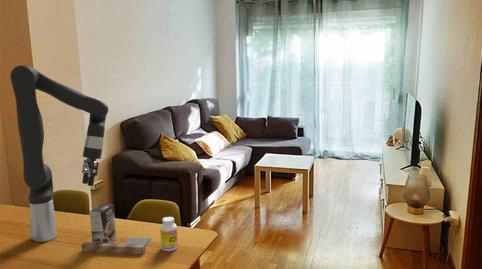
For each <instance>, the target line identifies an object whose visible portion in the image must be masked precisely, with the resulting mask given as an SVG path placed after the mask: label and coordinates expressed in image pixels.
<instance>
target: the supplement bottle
mask: <svg viewBox="0 0 482 269" xmlns="http://www.w3.org/2000/svg"><path fill="white" fill-rule="evenodd" d="M159 229H160V246H161V250H162V251H165V252H172V251H173V252H174V250H177V248H178V226H177V224H176V223H175V218H174V216H165V217H162V224H161V225H160V228H159Z"/></svg>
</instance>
